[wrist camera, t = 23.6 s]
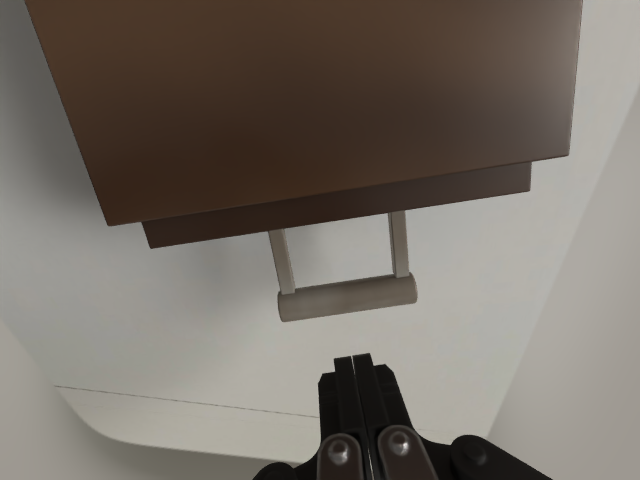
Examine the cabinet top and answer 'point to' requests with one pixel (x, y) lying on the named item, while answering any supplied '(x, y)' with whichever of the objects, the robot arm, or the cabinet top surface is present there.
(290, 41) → the cabinet
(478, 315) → the cabinet top surface
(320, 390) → the robot arm
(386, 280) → the drawer
